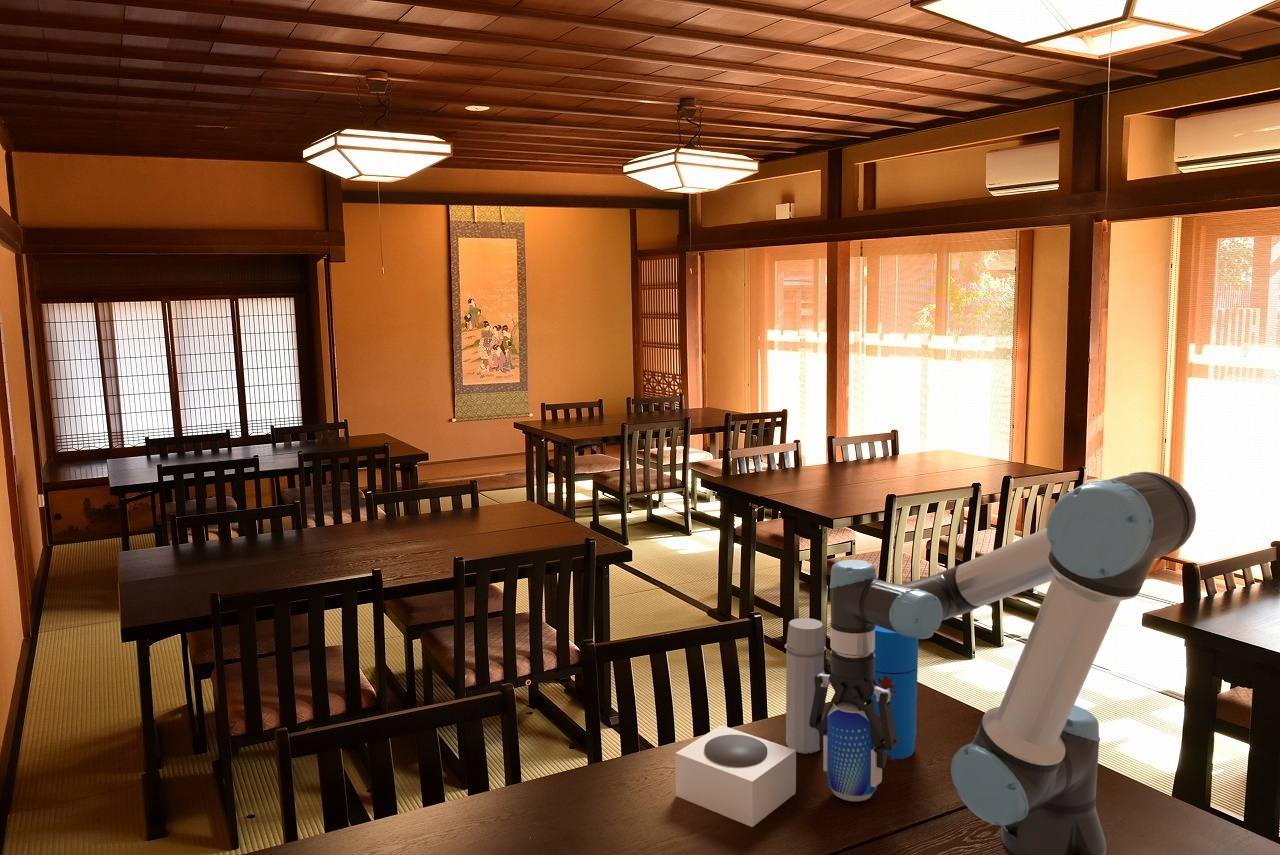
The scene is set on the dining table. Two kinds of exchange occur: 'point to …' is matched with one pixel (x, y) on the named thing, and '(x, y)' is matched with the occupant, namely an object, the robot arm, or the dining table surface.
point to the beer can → (849, 752)
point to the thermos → (898, 685)
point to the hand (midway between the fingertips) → (852, 775)
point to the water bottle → (802, 681)
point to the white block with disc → (736, 774)
